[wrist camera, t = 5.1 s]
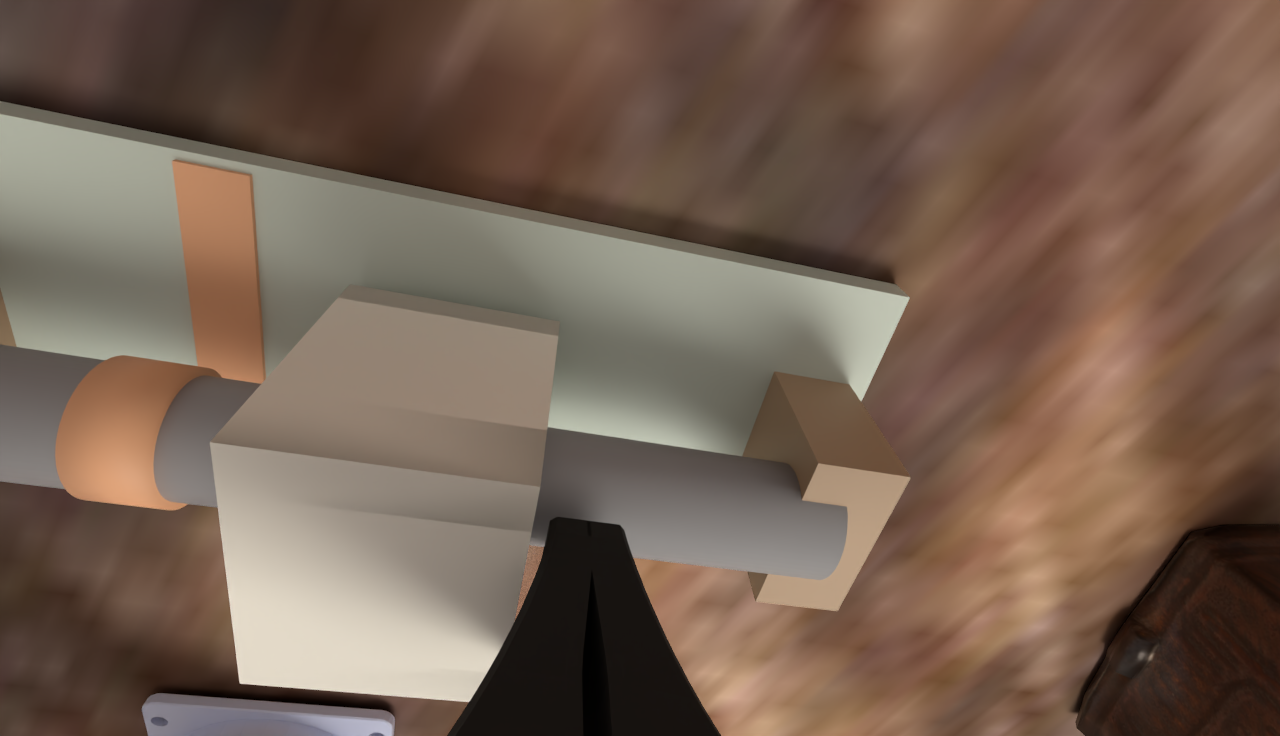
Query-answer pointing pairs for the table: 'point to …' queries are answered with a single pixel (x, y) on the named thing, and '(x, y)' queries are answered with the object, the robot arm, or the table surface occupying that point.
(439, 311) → the collar
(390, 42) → the table surface
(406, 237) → the rail
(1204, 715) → the dark brown knobbed piece
